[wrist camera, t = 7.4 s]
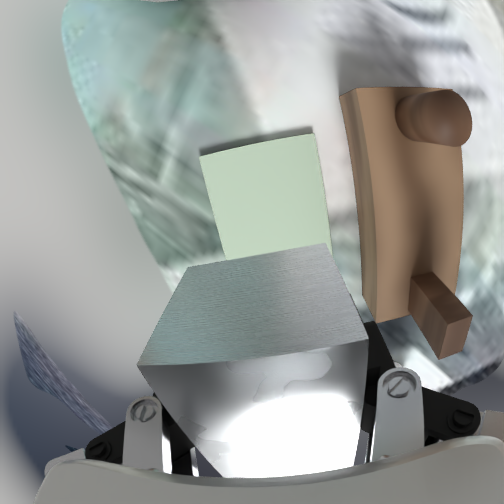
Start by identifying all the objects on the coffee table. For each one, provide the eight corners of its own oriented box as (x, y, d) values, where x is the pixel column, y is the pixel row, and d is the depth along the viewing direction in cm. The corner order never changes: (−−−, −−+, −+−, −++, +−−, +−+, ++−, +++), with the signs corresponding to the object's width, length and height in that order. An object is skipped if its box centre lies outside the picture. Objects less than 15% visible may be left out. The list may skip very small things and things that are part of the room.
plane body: (424, 93, 19) (509, 84, 8) (432, 278, 27) (487, 344, 16) (339, 96, 21) (396, 69, 10) (362, 295, 28) (400, 377, 17)
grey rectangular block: (325, 242, 10) (369, 338, 5) (335, 376, 12) (352, 465, 8) (187, 267, 10) (136, 365, 6) (234, 389, 13) (223, 477, 8)
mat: (312, 133, 22) (313, 133, 22) (333, 276, 28) (334, 279, 27) (200, 156, 24) (198, 156, 23) (237, 292, 29) (236, 295, 28)
